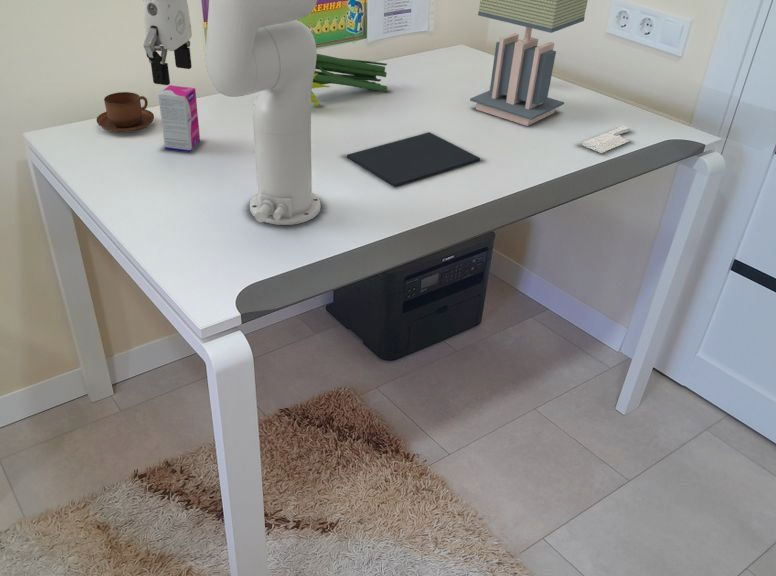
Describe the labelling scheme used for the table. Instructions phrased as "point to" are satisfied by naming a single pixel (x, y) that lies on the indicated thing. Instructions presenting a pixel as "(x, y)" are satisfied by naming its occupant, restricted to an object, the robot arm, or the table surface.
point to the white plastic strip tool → (607, 140)
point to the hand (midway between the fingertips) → (173, 75)
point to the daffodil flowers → (355, 69)
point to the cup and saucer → (125, 113)
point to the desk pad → (412, 158)
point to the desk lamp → (525, 58)
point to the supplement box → (179, 118)
